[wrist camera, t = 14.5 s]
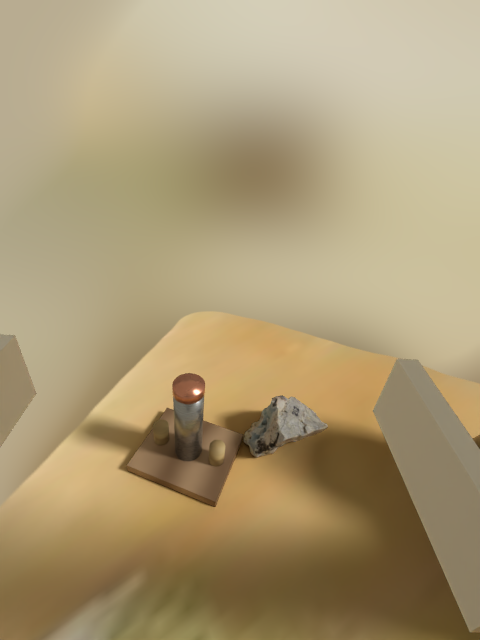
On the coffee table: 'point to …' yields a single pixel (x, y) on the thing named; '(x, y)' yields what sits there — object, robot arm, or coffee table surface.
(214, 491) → the peg rack
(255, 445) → the mineral specimen
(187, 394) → the pin
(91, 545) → the coffee table surface
